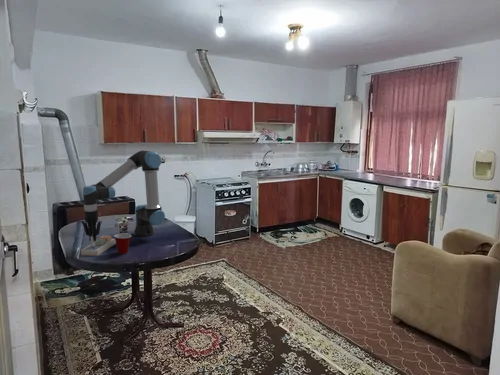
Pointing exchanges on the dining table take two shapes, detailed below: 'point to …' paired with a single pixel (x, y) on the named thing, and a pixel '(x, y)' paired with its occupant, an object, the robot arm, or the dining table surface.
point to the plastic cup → (122, 242)
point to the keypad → (100, 249)
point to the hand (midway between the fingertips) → (93, 245)
